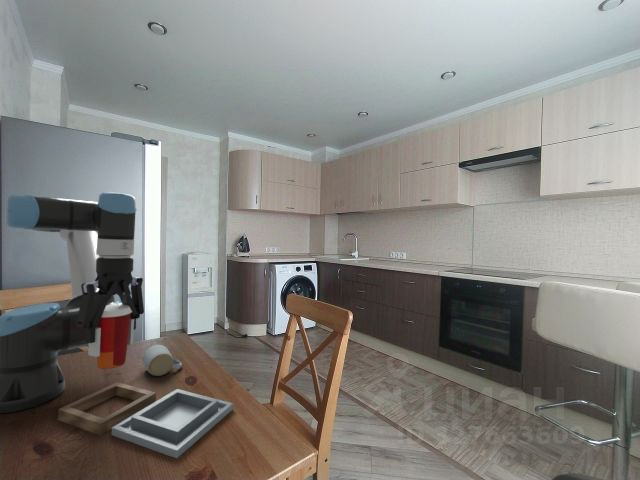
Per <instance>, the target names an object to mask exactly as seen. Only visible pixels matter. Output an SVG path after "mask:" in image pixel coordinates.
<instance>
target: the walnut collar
mask: <svg viewBox="0 0 640 480" xmlns="http://www.w3.org/2000/svg"><path fill="white" fill-rule="evenodd" d="M114 396H118V397H121V398H124V399H129V400H131V401H132V402H130V403H129V404H127V405H125V406H123V407H121V408H120V409H118V410H116V411H113V413H112V412H111V413H110V414H109V415H107V416H105V417H100V416H97V415H94V414H91V413H88V412H85V411H86V410H88V409H91V408H92V407H94V406H97V405H98V404H101V403H103V402H104V401H106V400H108V399H111V398H112V397H114ZM156 401H157V392H154V391H151V390H147V389H144V388H140V387H137V386H133V385H129V384H126V383H121V382H118V381H117V382H115V383H113V384H110V385H109V386H107V387H104V388H102V389H100V390H98V391H95V392H93V393H90V394H89V395H86V396H84V397H82V398H79V399H77V400H76V401H72V402H71V403H68V404H67V405H64V406H62V407H59V408H58V413H57V421H60V422H61V423H62V422H63V423H65V424H68V425H70V426H74V427H75V428H79V429H81V430H84V431H87V432H90V433H92V434H95V435H98V436H103V435H104V434H105V433H107V432H109V431H111V430H112V427H114V426H115V425H117V424H119V423H121V422H122V421H124V420H126V419H127V418H129V417H131V416H132V415H134V414H136V413H137V412H139V411H141V410H142V409H144V408H146V407H148V406H149V405H151V404H153V403H154V402H156Z"/></svg>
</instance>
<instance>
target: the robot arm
mask: <svg viewBox="0 0 640 480" xmlns="http://www.w3.org/2000/svg"><path fill="white" fill-rule="evenodd" d="M98 195H99V196H98V202H97V201H90V200H79V199H78V200H77V199H67V198H58V197H48V196H33V195H28V194H27V195H26V194H25V195H20V194H19V195H17V194H16V195H15V194H11V195H9V196H7V200H6V202H7V203H6V217H5V219H6V225H7V226H8V227H9V228H12V229H23V230H32V231H37V232H43V233H45V232H46V233H47V232H48V233H49V232H50V233H59V237H60V238H61V239H62V240H63V241H65V242H66V248H67V249H66V250H67V256H68V257H67V258H68V268H69V278H70V287H71V298H70V299H69V300H68V301H67V303H66V305H65V307H61V306H60V304H59V303H58V302H48V303H45V302H44V303H38V304H31V305H27V306H23V307H18V308H15V309H14V308H13V309H12V310H9V311H7V312H5V313H3V314H1V315H0V414H7V413H13V412H18V411H22V410H23V411H24V410H27V409H31V408H33V407H37V406H39V405H40V406H41V405H42V404H44V403H47V402H49V401H52V400H53V399H55V398H58V396H60V395H61V394H62V393H63V392H64V391H65V389H66V379H65V376H64V374H63V372H62V369H61V367H60V364H59V362H58V356H59V355H58V353H59V352H62V351H68V350H73V349H74V350H75V349H79V348H83V347H88V354H87V355H88V356H90V357H94V358H97V357H98V356H100V335H101V328H98V327H97V326H98V324H99V321H100V319H101V316H102V314H103V312H104V309H105V307H106V306H107V305H118V304H122V305H128V306H129V307H130V309H131V310H132V312H131V313H130V322H129V332H128V342H127V346H132V345H134V335H135V334H134V331H136V329H137V319H140V317H141V315H143V314H144V312H145V308H144V307H145V306H144V298H143V288H142V287H143V281H144V279H143V278H142V277H137V276H133V275H132V273H133V271H134V258H133V257H132V256H134V253H135V230H136V212H137V208H136V207H137V206H136V205H137V203H136V198H135V197H134V196H133V195H131V194H128V193H121V192H109V191H108V192H107V191H106V192H101V193H100V194H98ZM116 295H117V296H118V297H119V300H120V301H119V300H117V301H115V300H116V299H115V296H116Z"/></svg>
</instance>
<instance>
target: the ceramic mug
mask: <svg viewBox="0 0 640 480" xmlns="http://www.w3.org/2000/svg"><path fill="white" fill-rule="evenodd" d="M142 363H143V365H144V367H145V368H146V371H148V373H149V374H150V375H152V376H153V377H162V376H164V375H166V374H168V373H169V372H170V370H180V369H181V367H182V365H183V363H182V361H180V360H179V359H176V358H174V357H173V356H172V354H171V352H170V351H169V349H168V348H167V347H166V346H165V345H163V344H155V345H152V346H150V347H149V348H147V349H146V350H145V352H144V353H143V356H142Z"/></svg>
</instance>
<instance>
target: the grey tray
mask: <svg viewBox="0 0 640 480" xmlns="http://www.w3.org/2000/svg"><path fill="white" fill-rule="evenodd" d="M233 406H234V404H233V402H230V401H225V400H221V399H218V398H215V397H209V396H206V395H202V394H199V393H195V392H190V391H187V390H183V389H179V388H177V389H174V390H173V391H171V392H169V393H168V394H166V395H164V396H163V397H161V398H159V399H158V400H156V402H154V403H153V404H151V405H149V406H148V407H146V408H144V409H142V410H141V411H139V412H137V413H136V414H134V415H132V416H131V417H129V418H127V419H126V420H124V421H122V422H121V423H119V424H117V425H115V426H114V427H112V429H111V436H114V437H115V438H119V439H122V440H124V441H127V442H129V441H130V443H132V442H133V444H135V445H138V446H140V447H144V448H146V449H149V450H152V451H155V452H156V453H157V452H158V453H160V454H162V455H163V454H164V455H165V456H168V457H172V458H174V459H179V457H180V456H182V455H183V454H184V453H185V452H186V451H187V450H189V448H190V447H192V446H193V445H195V443H196V442H197V441H199V440H200V439H201V438H202V437H203V436H204V435H206V434H207V433H208V432H209V431H210V430H211V429H213V427H215V426H216V425H217V424H218V423H220V421H222V419H224V418H225V417H226V416H227V415H228V414H229V413H230V412H232V411H233V409H234V408H233Z"/></svg>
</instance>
